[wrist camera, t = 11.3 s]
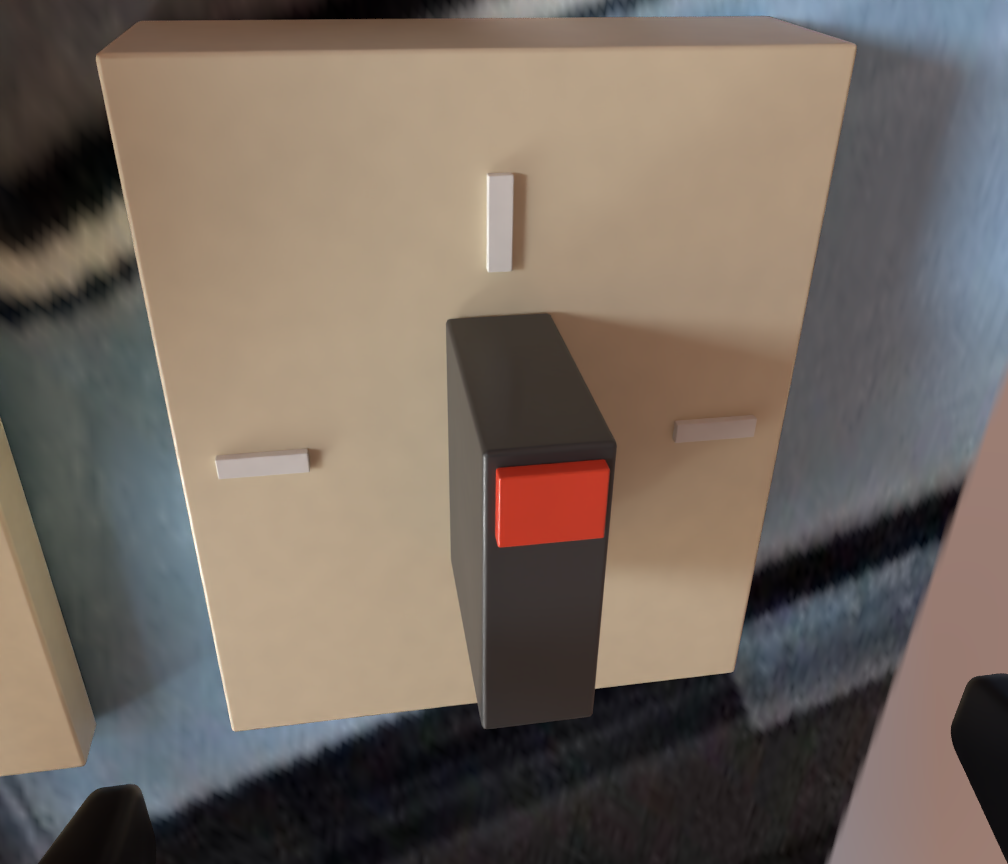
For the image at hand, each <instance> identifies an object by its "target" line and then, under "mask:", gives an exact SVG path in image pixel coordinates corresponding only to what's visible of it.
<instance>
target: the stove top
mask: <svg viewBox="0 0 1008 864" xmlns="http://www.w3.org/2000/svg"><path fill="white" fill-rule="evenodd" d="M95 728H96V721H95V718H94V715H93V712H92V709H91V705H90V702H89V699H88V696H87V693H86V689H85V686H84V683H83V680H82V677H81V673H80V670H79V667H78V664H77V661H76V657H75V654H74V651H73V648H72V645H71V641H70V638H69V635H68V632H67V629H66V625H65V622H64V619H63V616H62V613H61V609H60V606H59V603H58V600H57V597H56V593H55V590H54V587H53V584H52V581H51V577H50V574H49V571H48V568H47V565H46V561H45V558H44V555H43V552H42V549H41V545H40V542H39V539H38V536H37V533H36V530H35V526H34V523H33V520H32V517H31V514H30V510H29V507H28V504H27V501H26V498H25V494H24V491H23V488H22V485H21V482H20V478H19V475H18V472H17V469H16V466H15V462H14V459H13V456H12V453H11V450H10V446H9V443H8V440H7V437H6V434H5V430H4V427H3V424H2V421H1V418H0V776H7V775H16V774H24V773H32V772H40V771H48V770H57V769H65V768H73V767H81V766H84V765H85V764H86V761H87V758H88V754H89V750H90V746H91V743H92V739H93V735H94V731H95Z"/></svg>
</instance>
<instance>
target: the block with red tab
mask: <svg viewBox="0 0 1008 864" xmlns="http://www.w3.org/2000/svg"><path fill="white" fill-rule="evenodd" d="M446 354H447V401H448V448H449V495H450V542H451V563H452V568H453V574H454V579H455V585H456V590H457V595H458V601H459V606H460V612H461V617H462V622H463V628H464V633H465V639H466V644H467V649H468V655H469V660H470V665H471V671H472V676H473V682H474V687H475V692H476V698H477V703H478V709H479V714H480V719H481V724H482V726H483V728H484V729H494V728H502V727H510V726H518V725H526V724H534V723H542V722H550V721H558V720H566V719H574V718H583V717H589V716H591V715H592V713H593V704H594V693H595V682H596V671H597V660H598V649H599V638H600V627H601V616H602V605H603V594H604V583H605V572H606V561H607V550H608V539H609V528H610V517H611V506H612V495H613V484H614V472H615V461H616V450H617V443H616V441H615V439H614V437H613V435H612V433H611V431H610V429H609V427H608V425H607V423H606V421H605V420H604V418H603V416H602V414H601V412H600V410H599V408H598V406H597V404H596V402H595V400H594V398H593V396H592V394H591V392H590V390H589V388H588V387H587V385H586V383H585V381H584V379H583V377H582V375H581V373H580V371H579V369H578V367H577V365H576V363H575V361H574V359H573V357H572V356H571V354H570V352H569V350H568V348H567V346H566V344H565V342H564V340H563V338H562V336H561V334H560V332H559V330H558V328H557V326H556V324H555V323H554V321H553V319H552V317H551V315H550V314H547V313H544V314H526V315H508V316H491V317H473V318H455V319H448V320H447V322H446Z"/></svg>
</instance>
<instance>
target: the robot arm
mask: <svg viewBox="0 0 1008 864" xmlns="http://www.w3.org/2000/svg"><path fill="white" fill-rule="evenodd" d="M951 738H952V742H953V746H954V749H955V751H956V753H957V755H958V758H959V760H960V762H961V764H962V766H963V768H964V771H965V772H966V775H967V777H968V779H969V781H970V784H971V786H972V788H973V790H974V792H975V794H976V796H977V798H978V801H979V803H980V805H981V807H982V809H983V811H984V814H985V816H986V818H987V820H988V822H989V825H990V827H991V829H992V831H993V833H994V835H995V838H996V839H997V842H998V844H999V846H1000V848H1001V851H1002V853H1003V855H1004V857H1005V859H1006V861H1007V863H1008V674H992V675H984V676H977V677H974V678H972V679H971V680H970V681H969V682H968V684H967V685H966V687H965V690H964V693H963V695H962V698H961V701H960V704H959V706H958V709H957V711H956V714H955V717H954V719H953V722H952V725H951ZM155 863H156V842H155V835H154V831H153V828H152V824H151V821H150V818H149V814H148V811H147V807H146V804H145V801H144V797H143V794H142V791H141V790H140V788H139V787H138V786H137V785H135V784H126V785H119V786H111V787H103V788H99V789H97V790H95V791H94V792H92V793H91V794H90V795H89V796H88V797H87V799H86V800H85V801H84V803H83V804H82V805H81V807H80V808H79V809H78V811H77V812H76V813H75V815H74V816H73V817H72V819H71V820H70V822H69V823H68V824H67V826H66V827H65V828H64V830H63V831H62V832H61V834H60V835H59V836H58V838H57V839H56V840H55V842H54V843H53V844H52V846H51V847H50V848H49V850H48V851H47V852H46V854H45V855H44V856H43V858H42V859H41V860H40V862H39V863H38V864H155Z"/></svg>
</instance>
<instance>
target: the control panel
mask: <svg viewBox="0 0 1008 864" xmlns="http://www.w3.org/2000/svg"><path fill="white" fill-rule="evenodd" d="M856 51H857V46H856V44H854V43H851V42H848V41H845V40H842V39H839V38H836V37H833V36H829V35H826V34H823V33H820V32H817V31H814V30H810V29H807V28H804V27H801V26H798V25H795V24H792V23H788V22H785V21H782V20H779V19H776V18H773V17H769V16H715V17H582V18H450V19H317V20H184V21H139V22H137V23H136V24H134V25H133V26H132V27H130V28H129V29H128V30H127V31H125V32H124V33H123V34H122V35H120V36H119V37H118V38H116V39H115V40H114V41H113V42H111V43H110V44H109V45H108V46H106V47H105V48H104V49H102V50H101V51H100V52H99V53H97V55H96V63H97V68H98V73H99V78H100V82H101V87H102V92H103V97H104V102H105V107H106V112H107V117H108V122H109V127H110V132H111V137H112V141H113V146H114V151H115V156H116V161H117V166H118V171H119V176H120V181H121V186H122V191H123V196H124V201H125V205H126V210H127V215H128V220H129V225H130V230H131V235H132V240H133V245H134V250H135V255H136V260H137V265H138V269H139V274H140V279H141V284H142V289H143V294H144V299H145V304H146V309H147V314H148V319H149V324H150V328H151V333H152V338H153V343H154V348H155V353H156V358H157V363H158V368H159V373H160V378H161V383H162V388H163V392H164V397H165V402H166V407H167V412H168V417H169V422H170V427H171V432H172V437H173V442H174V447H175V451H176V456H177V461H178V466H179V471H180V476H181V481H182V486H183V491H184V496H185V501H186V506H187V511H188V515H189V520H190V525H191V530H192V535H193V540H194V545H195V550H196V555H197V560H198V565H199V570H200V574H201V579H202V584H203V589H204V594H205V599H206V604H207V609H208V614H209V619H210V624H211V629H212V634H213V638H214V643H215V648H216V653H217V658H218V663H219V668H220V673H221V678H222V683H223V688H224V693H225V697H226V702H227V707H228V712H229V717H230V722H231V727H232V730H233V731H244V730H253V729H261V728H269V727H278V726H286V725H295V724H303V723H311V722H320V721H328V720H336V719H345V718H353V717H362V716H370V715H378V714H387V713H395V712H404V711H412V710H420V709H429V708H437V707H445V706H454V705H462V704H471V703H477V698H476V692H475V687H474V682H473V676H472V671H471V665H470V660H469V655H468V649H467V644H466V639H465V633H464V628H463V622H462V617H461V612H460V606H459V601H458V595H457V590H456V585H455V579H454V574H453V568H452V563H451V542H450V495H449V448H448V401H447V354H446V322H447V320H448V319H455V318H473V317H491V316H508V315H526V314H544V313H547V314H550V315H551V317H552V319H553V321H554V323H555V324H556V326H557V328H558V330H559V332H560V334H561V336H562V338H563V340H564V342H565V344H566V346H567V348H568V350H569V352H570V354H571V356H572V357H573V359H574V361H575V363H576V365H577V367H578V369H579V371H580V373H581V375H582V377H583V379H584V381H585V383H586V385H587V387H588V388H589V390H590V392H591V394H592V396H593V398H594V400H595V402H596V404H597V406H598V408H599V410H600V412H601V414H602V416H603V418H604V420H605V421H606V423H607V425H608V427H609V429H610V431H611V433H612V435H613V437H614V439H615V441H616V443H617V450H616V461H615V472H614V484H613V495H612V506H611V517H610V528H609V539H608V550H607V561H606V572H605V583H604V594H603V605H602V616H601V627H600V638H599V649H598V660H597V671H596V682H595V689H596V688H605V687H613V686H621V685H630V684H638V683H647V682H655V681H663V680H672V679H680V678H688V677H697V676H705V675H714V674H722V673H730V672H733V671H734V668H735V663H736V658H737V653H738V648H739V643H740V638H741V633H742V628H743V623H744V618H745V613H746V608H747V603H748V598H749V592H750V587H751V582H752V577H753V572H754V567H755V562H756V557H757V552H758V547H759V542H760V537H761V532H762V527H763V522H764V517H765V512H766V507H767V501H768V496H769V491H770V486H771V481H772V476H773V471H774V466H775V461H776V456H777V451H778V446H779V441H780V436H781V431H782V426H783V421H784V416H785V410H786V405H787V400H788V395H789V390H790V385H791V380H792V375H793V370H794V365H795V360H796V355H797V350H798V345H799V340H800V335H801V330H802V325H803V319H804V314H805V309H806V304H807V299H808V294H809V289H810V284H811V279H812V274H813V269H814V264H815V259H816V254H817V249H818V244H819V239H820V234H821V228H822V223H823V218H824V213H825V208H826V203H827V198H828V193H829V188H830V183H831V178H832V173H833V168H834V163H835V158H836V153H837V148H838V142H839V137H840V132H841V127H842V122H843V117H844V112H845V107H846V102H847V97H848V92H849V87H850V82H851V77H852V72H853V67H854V62H855V57H856Z"/></svg>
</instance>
